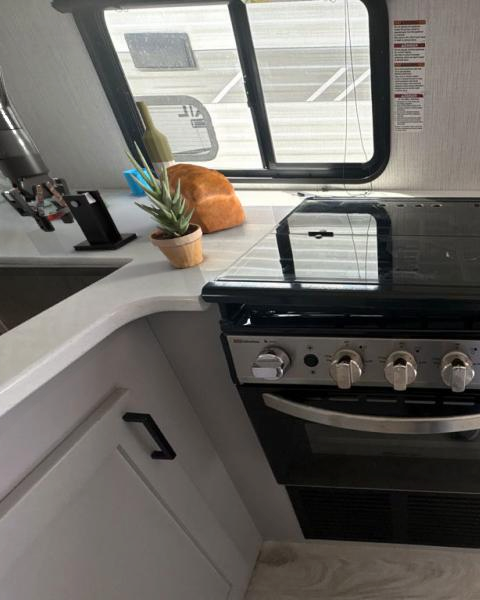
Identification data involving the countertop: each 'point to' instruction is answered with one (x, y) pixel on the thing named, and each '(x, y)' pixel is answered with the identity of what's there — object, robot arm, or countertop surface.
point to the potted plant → (170, 219)
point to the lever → (66, 209)
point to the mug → (132, 184)
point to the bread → (206, 197)
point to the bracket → (95, 223)
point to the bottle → (155, 142)
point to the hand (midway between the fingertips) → (59, 226)
